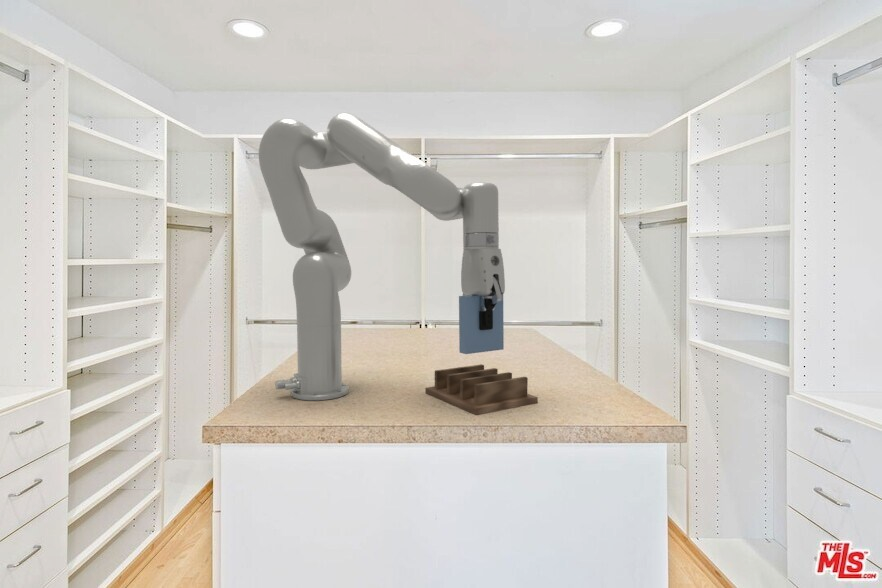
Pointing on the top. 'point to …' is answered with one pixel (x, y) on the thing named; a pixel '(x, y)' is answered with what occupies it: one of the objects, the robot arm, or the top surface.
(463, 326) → the tile
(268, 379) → the top surface
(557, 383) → the top surface
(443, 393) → the rack
